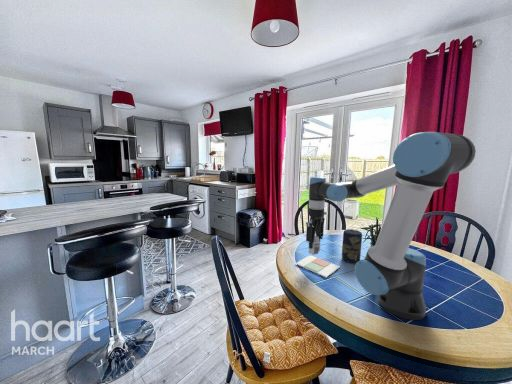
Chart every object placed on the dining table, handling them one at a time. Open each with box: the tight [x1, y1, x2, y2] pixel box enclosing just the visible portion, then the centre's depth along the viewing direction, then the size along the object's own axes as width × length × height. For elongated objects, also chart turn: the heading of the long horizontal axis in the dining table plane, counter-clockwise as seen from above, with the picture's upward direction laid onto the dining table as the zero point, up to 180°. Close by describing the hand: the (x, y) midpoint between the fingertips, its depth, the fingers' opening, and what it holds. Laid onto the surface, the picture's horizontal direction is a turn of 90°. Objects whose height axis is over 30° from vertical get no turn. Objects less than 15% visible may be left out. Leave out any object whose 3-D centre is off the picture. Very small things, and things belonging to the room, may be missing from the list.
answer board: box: [295, 254, 341, 279], centre depth 110 cm, size 18×14×1 cm
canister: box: [341, 228, 363, 264], centre depth 116 cm, size 10×10×18 cm
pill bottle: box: [314, 235, 320, 255], centre depth 106 cm, size 5×5×8 cm
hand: (314, 252), depth 107 cm, fingers closed on pill bottle, 5 cm apart
